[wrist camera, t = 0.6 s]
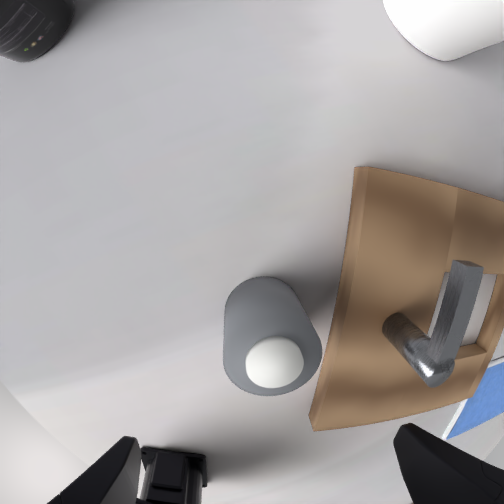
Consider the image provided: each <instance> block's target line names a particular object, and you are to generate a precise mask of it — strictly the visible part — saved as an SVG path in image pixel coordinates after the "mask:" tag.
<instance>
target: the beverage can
mask: <svg viewBox="0 0 504 504" xmlns="http://www.w3.org/2000/svg"><path fill="white" fill-rule="evenodd" d="M383 4H384V7H385V10H386V12H387V14H388V16H389V18H390V20H391V21H392V23H393V24H394V26H395V27H396V28H397V30H398V31H399V32H400V33H401V34H402V35H403V36H404V37H405V38H406V39H407V40H408V41H409V42H410V43H411V44H412V45H413V46H414V47H416V48H417V49H418V50H420V51H421V52H423V53H424V54H426V55H428V56H430V57H432V58H435V59H438V60H442V61H452V60H455V59H457V58H459V57H462V56H464V55H467V54H470V53H472V52H475V51H477V50H480V49H483V48H485V47H488V46H491V45H494V44H496V43H499V42H502V41H504V0H383Z"/></svg>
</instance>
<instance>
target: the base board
mask: <svg viewBox="0 0 504 504" xmlns="http://www.w3.org/2000/svg"><path fill="white" fill-rule="evenodd" d="M453 260H465V261H471V262H473V263H475V264H478V265H480V266H482V267H484V270H483V274H497V278H496V282H495V286H494V290H493V293H492V297H491V300H490V304H489V307H488V310H487V313H486V316H485V319H484V322H483V325H482V328H481V331H480V333H479V336H478V339H477V341H476V344H471V345H466V346H460V348H459V350H458V353H457V355H456V358H455V360H454V361H455V366H454V370H453V372H452V374H451V375H450V376H449V378H448V379H447V380H446V381H445V382H444V383H442V384H441V385H439V386H437V387H434V388H431V387H429V386H428V385H427V384H426V383H425V382H424V381H423V379H422V378H421V377H420V376H419V375H418V374H417V372H416V371H415V370H414V369H413V368H412V367H411V366H410V364H409V363H408V362H407V361H406V360H405V359H404V358H403V356H402V355H401V354H400V353H399V352H398V351H397V350H396V349H395V347H394V346H393V345H392V344H391V343H390V342H389V341H388V340H387V338H386V337H385V336H384V335H383V333H382V326H383V323H384V321H385V320H386V319H387V318H388V317H389V316H390V315H391V314H394V313H402V314H404V315H405V316H406V317H407V318H408V319H409V320H410V321H412V322H413V323H414V324H415V325H416V326H417V327H418V328H420V329H421V330H422V331H423V332H424V333H425V334H426V335H427V333H428V330H429V327H430V324H431V321H432V317H433V314H434V311H435V307H436V304H437V300H438V296H439V292H440V289H441V285H442V281H443V276H444V272H450V270H451V265H452V261H453ZM503 328H504V202H502V201H499V200H496V199H493V198H490V197H487V196H484V195H481V194H478V193H474V192H471V191H468V190H464V189H461V188H457V187H454V186H450V185H446V184H443V183H439V182H435V181H431V180H427V179H423V178H419V177H415V176H410V175H406V174H402V173H397V172H392V171H388V170H383V169H378V168H373V167H355V169H354V180H353V190H352V199H351V208H350V216H349V224H348V231H347V239H346V246H345V252H344V259H343V265H342V271H341V277H340V283H339V288H338V294H337V299H336V304H335V309H334V314H333V319H332V324H331V329H330V333H329V338H328V342H327V347H326V351H325V355H324V359H323V364H322V368H321V372H320V376H319V379H318V383H317V387H316V391H315V395H314V398H313V402H312V405H311V409H310V412H309V418H310V421H311V425H312V428H313V431H323V430H332V429H340V428H348V427H355V426H361V425H367V424H373V423H378V422H384V421H389V420H393V419H398V418H403V417H407V416H411V415H415V414H419V413H423V412H427V411H430V410H434V409H437V408H441V407H444V406H447V405H450V404H454V403H457V402H460V401H463V400H465V399H468V398H471V397H473V395H474V393H475V391H476V390H477V388H478V386H479V384H480V382H481V380H482V378H483V376H484V373H485V371H486V369H487V367H488V365H489V363H490V360H491V358H492V356H493V353H494V351H495V349H496V346H497V344H498V341H499V339H500V336H501V333H502V331H503Z"/></svg>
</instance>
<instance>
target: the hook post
mask: <svg viewBox="0 0 504 504" xmlns="http://www.w3.org/2000/svg"><path fill="white" fill-rule="evenodd" d="M483 270H484V267H482V266H480V265H478V264H475V263H473V262H471V261H465V260H453V261H452V265H451V270H450V274H449V278H448V282H447V286H446V290H445V294H444V298H443V301H442V305H441V308H440V312H439V315H438V318H437V322H436V325H435V328H434V331H433V334H432V337H431V338H430V337H429V336H427V335H426V334H425V333H424V332H423V331H422V330H421V329H420V328H418V327H417V326H416V325H415V324H414V323H413V322H412V321H410V320H409V319H408V318H407V317H406V316H405V315H404V314H402V313H394V314H391V315H390V316H389V317H388V318H387V319H386V320H385V321H384V323H383V326H382V333H383V335H384V336H385V337H386V338H387V340H388V341H389V342H390V343H391V344H392V345H393V346H394V347H395V349H396V350H397V351H398V352H399V353H400V354H401V355H402V356H403V358H404V359H405V360H406V361H407V362H408V363H409V364H410V366H411V367H412V368H413V369H414V370H415V371H416V372H417V374H418V375H419V376H420V377H421V378H422V379H423V381H424V382H425V383H426V384H427V385H428V386H429V387H431V388H434V387H437V386H439V385H441V384H442V383H444V382H445V381H446V380H447V379H448V378H449V376H450V375H451V374H452V372H453V370H454V366H455V361H454V360H455V358H456V355H457V353H458V350H459V348H460V345H461V342H462V340H463V337H464V334H465V331H466V329H467V326H468V323H469V320H470V317H471V314H472V310H473V307H474V304H475V301H476V297H477V294H478V290H479V286H480V282H481V278H482V274H483Z"/></svg>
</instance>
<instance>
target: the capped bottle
mask: <svg viewBox="0 0 504 504" xmlns="http://www.w3.org/2000/svg"><path fill="white" fill-rule="evenodd" d="M321 358H322V345H321V341H320V339H319V337H318V335H317V333H316V331H315V329H314V327H313V325H312V324H311V322H310V320H309V318H308V316H307V314H306V312H305V311H304V309H303V307H302V305H301V303H300V301H299V299H298V298H297V296H296V294H295V292H294V291H293V289H292V288H291V287H290V286H289V285H287V284H286V283H285V282H283V281H281V280H279V279H276V278H272V277H256V278H252V279H249V280H246V281H245V282H243V283H241V284H240V285H238V286H237V287H236V288H235V289H234V290H233V291H232V292H231V294H230V295H229V297H228V299H227V302H226V305H225V316H224V344H223V365H224V369H225V372H226V374H227V376H228V377H229V379H230V380H231V381H232V382H233V383H234V384H235V385H236V386H237V387H239V388H240V389H242V390H244V391H246V392H248V393H251V394H255V395H260V396H276V395H282V394H285V393H288V392H291V391H293V390H295V389H297V388H299V387H301V386H302V385H304V384H305V383H306V382H307V381H308V380H309V379H311V377H312V376H313V375H314V374H315V372H316V371H317V369H318V367H319V365H320V362H321Z"/></svg>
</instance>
